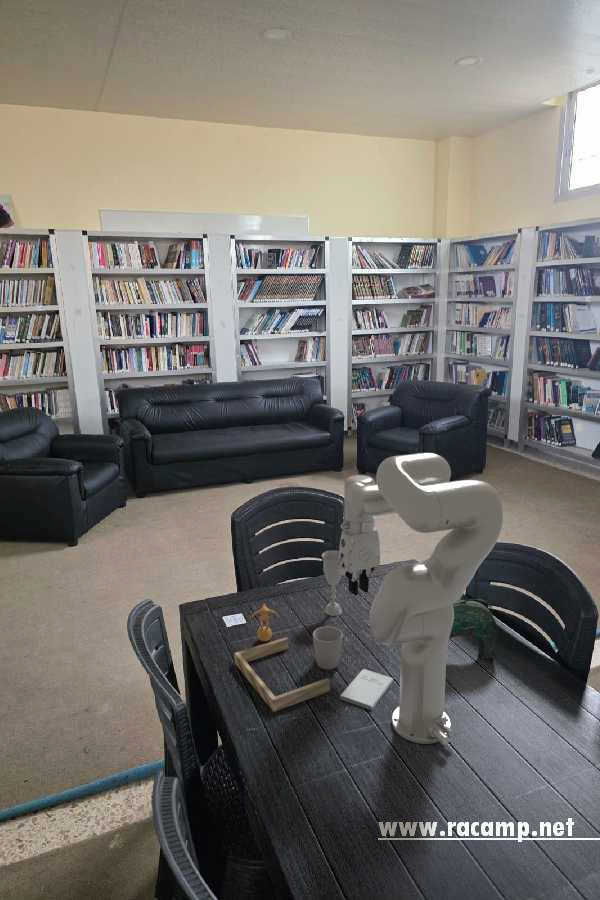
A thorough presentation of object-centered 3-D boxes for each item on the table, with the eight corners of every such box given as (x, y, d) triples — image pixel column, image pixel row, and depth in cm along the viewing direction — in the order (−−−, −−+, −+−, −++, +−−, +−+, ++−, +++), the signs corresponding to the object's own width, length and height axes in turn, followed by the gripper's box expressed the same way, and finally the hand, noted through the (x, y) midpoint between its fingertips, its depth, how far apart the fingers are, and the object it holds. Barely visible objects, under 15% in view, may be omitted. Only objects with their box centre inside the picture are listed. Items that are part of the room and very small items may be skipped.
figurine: (279, 635, 172) (278, 595, 169) (281, 647, 166) (280, 606, 163) (249, 637, 171) (247, 598, 168) (250, 649, 165) (248, 608, 162)
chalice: (345, 617, 181) (345, 560, 176) (322, 617, 181) (321, 560, 177) (344, 605, 188) (344, 550, 184) (321, 605, 188) (321, 550, 184)
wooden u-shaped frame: (329, 691, 147) (329, 680, 147) (273, 711, 140) (273, 700, 140) (286, 647, 166) (286, 637, 165) (234, 663, 159) (234, 652, 158)
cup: (314, 673, 155) (314, 642, 152) (310, 651, 164) (310, 622, 162) (344, 671, 155) (344, 641, 153) (339, 649, 165) (339, 620, 163)
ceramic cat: (420, 664, 157) (423, 592, 153) (415, 650, 164) (417, 581, 159) (498, 662, 158) (503, 590, 153) (489, 648, 164) (494, 579, 159)
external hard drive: (339, 701, 145) (362, 673, 155) (372, 712, 141) (393, 683, 151) (339, 695, 144) (362, 667, 155) (372, 706, 140) (393, 677, 151)
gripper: (340, 535, 148) (340, 605, 153) (394, 523, 156) (392, 590, 160) (323, 526, 155) (324, 593, 159) (376, 514, 162) (375, 579, 167)
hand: (358, 591), depth 160 cm, fingers open, 2 cm apart
